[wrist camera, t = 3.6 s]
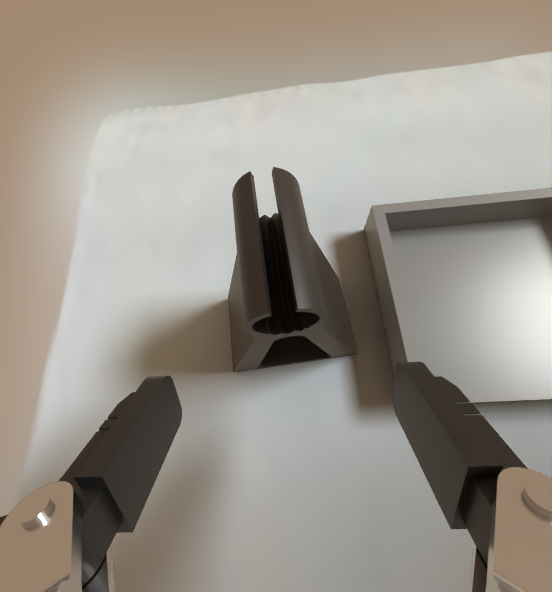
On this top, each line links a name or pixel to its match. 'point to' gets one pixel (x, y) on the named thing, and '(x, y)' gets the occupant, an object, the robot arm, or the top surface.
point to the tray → (469, 290)
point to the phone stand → (282, 285)
